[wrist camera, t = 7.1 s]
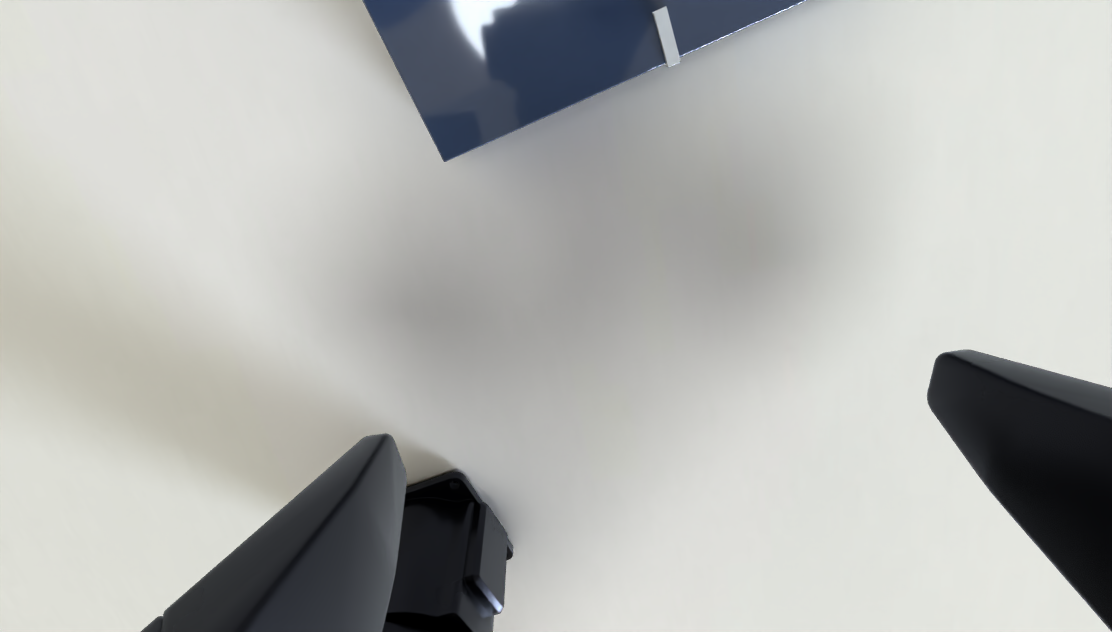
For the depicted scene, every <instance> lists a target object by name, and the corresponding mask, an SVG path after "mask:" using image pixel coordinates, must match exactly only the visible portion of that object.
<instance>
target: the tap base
mask: <svg viewBox="0 0 1112 632" xmlns="http://www.w3.org/2000/svg"><path fill="white" fill-rule="evenodd" d="M362 1H363V3H364V5H365V7H366V9H367V11H368V13H369V15H370V16H371V18H372V20H373V22H374V24H375V26H376V28H377V30H378V32H379V34H380V36H381V38H382V40H383V42H384V44H385V46H386V48H387V50H388V52H389V54H390V56H391V58H392V60H393V62H394V64H395V66H396V68H397V70H398V72H399V74H400V76H401V78H402V80H403V82H404V84H405V86H406V88H407V90H408V92H409V94H410V96H411V98H412V100H413V102H414V104H415V106H416V108H417V110H418V112H419V114H420V116H421V118H422V119H423V121H424V123H425V125H426V127H427V129H428V131H429V133H430V135H431V137H432V139H433V141H434V143H435V145H436V147H437V149H438V151H439V153H440V155H441V157H442V159H443V161H444V162H447V161H449V160H451V159H453V158H456V157H458V156H460V155H462V154H465V153H467V152H469V151H471V150H474V149H476V148H478V147H480V146H482V145H485V144H487V143H489V142H491V141H494V140H496V139H498V138H500V137H503V136H505V135H507V134H509V133H512V132H514V131H516V130H518V129H521V128H523V127H525V126H527V125H529V124H532V123H534V122H536V121H538V120H541V119H543V118H545V117H547V116H550V115H552V114H554V113H556V112H559V111H561V110H563V109H565V108H568V107H570V106H572V105H574V104H577V103H579V102H581V101H583V100H585V99H588V98H590V97H592V96H594V95H597V94H599V93H601V92H603V91H606V90H608V89H610V88H612V87H615V86H617V85H619V84H621V83H624V82H626V81H628V80H630V79H633V78H635V77H637V76H639V75H641V74H644V73H646V72H648V71H650V70H653V69H655V68H657V67H659V66H662V65H664V64H666V65H667V67H671V66H673V65H675V64H678V63H680V62H681V60H680V57H682V56H684V55H686V54H688V53H691V52H693V51H695V50H697V49H700V48H702V47H704V46H706V45H709V44H711V43H713V42H715V41H718V40H720V39H722V38H724V37H727V36H729V35H731V34H733V33H736V32H738V31H740V30H742V29H744V28H747V27H749V26H751V25H753V24H756V23H758V22H760V21H762V20H765V19H767V18H769V17H771V16H774V15H776V14H778V13H780V12H783V11H785V10H787V9H789V8H791V7H794V6H796V5H798V4H800V3H803V2H805V1H807V0H362Z"/></svg>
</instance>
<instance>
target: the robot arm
mask: <svg viewBox="0 0 1112 632" xmlns="http://www.w3.org/2000/svg"><path fill="white" fill-rule="evenodd" d="M927 400H928V404H929V406H930V408H931V410H932V412H933V413H934V414H935V416H936V417H937V419H938V420H939V421H940V423H941V424H942V426H943V427H944V428H945V430H946V431H947V433H948V434H949V435H950V437H951V438H952V440H953V441H954V442H955V444H956V445H957V447H958V448H959V449H960V451H961V452H962V453H963V455H964V456H965V458H966V459H967V460H968V462H969V463H970V465H971V466H972V467H973V469H974V470H975V472H976V473H977V474H978V476H979V477H980V478H981V480H982V481H983V482H984V484H985V485H986V486H987V488H988V489H989V490H990V492H991V493H992V494H993V495H994V496H995V498H996V499H997V500H998V501H999V502H1000V504H1001V505H1002V506H1003V507H1004V508H1005V509H1006V511H1007V512H1008V513H1009V514H1010V515H1011V516H1012V517H1013V519H1014V520H1015V521H1016V522H1017V523H1018V524H1019V526H1020V527H1021V528H1022V529H1023V530H1024V531H1025V532H1026V534H1027V535H1028V536H1029V537H1030V538H1031V539H1032V540H1033V542H1034V543H1035V544H1036V545H1037V546H1038V547H1039V549H1040V550H1041V551H1042V552H1043V553H1044V554H1045V555H1046V557H1047V558H1048V559H1049V560H1050V561H1051V562H1052V564H1053V565H1054V566H1055V567H1056V568H1057V569H1058V570H1059V572H1060V573H1061V574H1062V575H1063V576H1064V577H1065V578H1066V580H1067V581H1068V582H1069V583H1070V584H1071V585H1072V587H1073V588H1074V589H1075V590H1076V591H1077V592H1078V593H1079V595H1080V596H1081V597H1082V598H1083V599H1084V600H1085V601H1086V603H1087V604H1088V605H1089V606H1090V607H1091V608H1092V610H1093V611H1094V612H1095V613H1096V614H1097V615H1098V616H1099V618H1100V619H1101V620H1102V621H1103V622H1104V623H1105V625H1106V626H1107V627H1108V628H1109V629H1110V630H1111V631H1112V388H1110V387H1106V386H1103V385H1099V384H1095V383H1092V382H1088V381H1084V380H1081V379H1077V378H1073V377H1070V376H1066V375H1062V374H1058V373H1055V372H1051V371H1047V370H1044V369H1040V368H1036V367H1033V366H1029V365H1025V364H1022V363H1018V362H1014V361H1010V360H1007V359H1003V358H999V357H996V356H992V355H988V354H985V353H981V352H977V351H973V350H958V351H951V352H945V353H942V354H940V355H939V356H938V357H937V358H936V360H935V363H934V367H933V372H932V376H931V380H930V384H929V388H928V393H927ZM453 482H458V483H453ZM406 484H407V478H406V471H405V468H404V465H403V462H402V460H401V457H400V454H399V452H398V449H397V446H396V444H395V441H394V439H393V437H392V436H391V435H389V434H386V433H385V434H378V435H371V436H366V437H364V438H363V439H361V440H360V441H359V442H358V443H357V444H356V445H354V446H353V447H352V448H351V449H350V450H349V451H348V452H346V453H345V454H344V455H343V456H342V457H341V458H340V459H338V460H337V461H336V462H335V463H334V464H333V465H332V466H330V467H329V468H328V469H327V470H326V471H325V472H324V473H322V474H321V475H320V476H319V477H318V478H317V479H315V480H314V481H313V482H312V483H311V484H310V485H309V486H307V487H306V488H305V489H304V490H303V491H302V492H301V493H299V494H298V495H297V496H296V497H295V498H294V499H293V500H291V501H290V502H289V503H288V504H287V505H286V506H285V507H283V508H282V509H281V510H280V511H279V512H278V513H276V514H275V515H274V516H273V517H272V518H271V519H270V520H268V521H267V522H266V523H265V524H264V525H263V526H262V527H260V528H259V529H258V530H257V531H256V532H255V533H254V534H252V535H251V536H250V537H249V538H248V539H247V540H245V541H244V542H243V543H242V544H241V545H240V546H239V547H237V548H236V549H235V550H234V551H233V552H232V553H231V554H229V555H228V556H227V557H226V558H225V559H224V560H223V561H221V562H220V563H219V564H218V565H217V566H216V567H214V568H213V569H212V570H211V571H210V572H209V573H208V574H206V575H205V576H204V577H203V578H202V579H201V580H200V581H198V582H197V583H196V584H195V585H194V586H193V587H192V588H190V589H189V590H188V591H187V592H186V593H185V594H183V595H182V596H181V597H180V598H179V599H178V600H177V601H175V602H174V603H173V604H172V605H171V606H170V607H169V608H167V609H166V610H165V612H164V614H163V616H159V617H157V618H156V619H155V620H153V621H152V622H151V623H150V624H149V625H148V626H147V627H146V628H144V629H143V630H142V631H141V632H493V622H494V615H496V614H499V613H501V611H502V609H503V607H504V593H505V575H506V560H509V559H511V558H512V556H513V545H512V544H511V542H510V541H509V539H508V535H507V532H506V531H505V529H504V528H503V527H502V525H501V524H500V522H499V521H498V519H497V518H496V516H495V515H494V513H493V512H492V510H491V509H490V508H489V506H488V505H487V504H486V503H484V502H482V500H481V499H480V497H479V496H478V494H477V493H476V491H475V490H474V488H473V487H472V486H471V484H470V483H469V481H468V480H467V478H466V477H465V476H464V475H463V474H462V473H460V472H451V473H448V474H445V475H442V476H439V477H436V478H433V479H430V480H427V481H425V482H422V483H419V484H416V485H413V486H410V487H407V488H406Z"/></svg>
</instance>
